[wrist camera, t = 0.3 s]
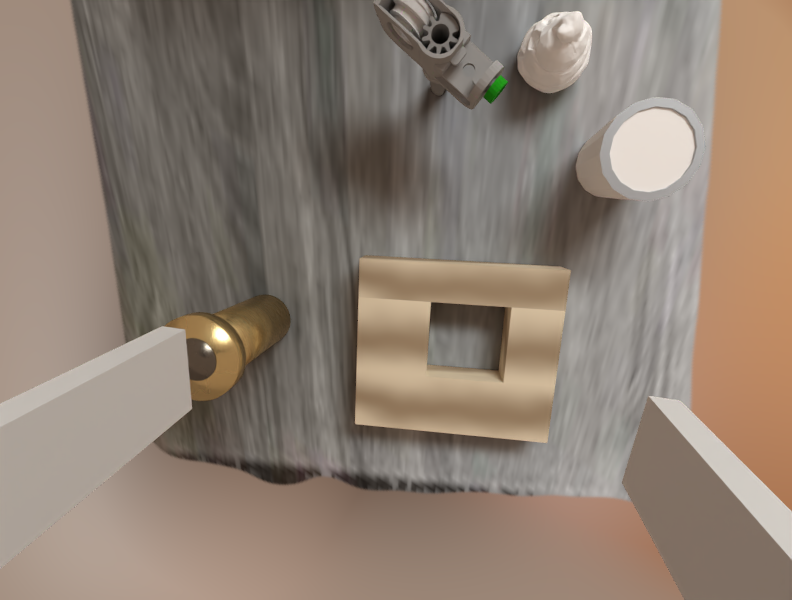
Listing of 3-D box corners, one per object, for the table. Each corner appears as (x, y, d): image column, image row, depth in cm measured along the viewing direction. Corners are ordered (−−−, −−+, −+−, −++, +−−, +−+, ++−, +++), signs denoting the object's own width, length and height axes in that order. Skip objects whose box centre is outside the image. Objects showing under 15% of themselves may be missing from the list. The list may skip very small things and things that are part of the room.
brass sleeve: (235, 285, 40) (149, 313, 28) (297, 289, 39) (235, 319, 27) (237, 346, 41) (156, 397, 29) (297, 351, 40) (238, 405, 28)
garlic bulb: (572, -37, 26) (633, 16, 26) (547, 9, 32) (597, 53, 32) (515, 36, 27) (574, 87, 28) (501, 68, 33) (550, 110, 34)
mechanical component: (471, 139, 35) (485, 107, 25) (383, 59, 34) (361, -5, 24) (495, 111, 34) (518, 67, 24) (406, 29, 33) (393, -50, 24)
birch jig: (365, 255, 38) (359, 258, 35) (560, 266, 36) (570, 270, 33) (360, 409, 41) (355, 424, 38) (539, 426, 39) (547, 442, 36)
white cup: (667, 137, 33) (726, 115, 26) (629, 216, 34) (676, 215, 28) (588, 110, 33) (627, 81, 26) (555, 190, 35) (583, 182, 28)
